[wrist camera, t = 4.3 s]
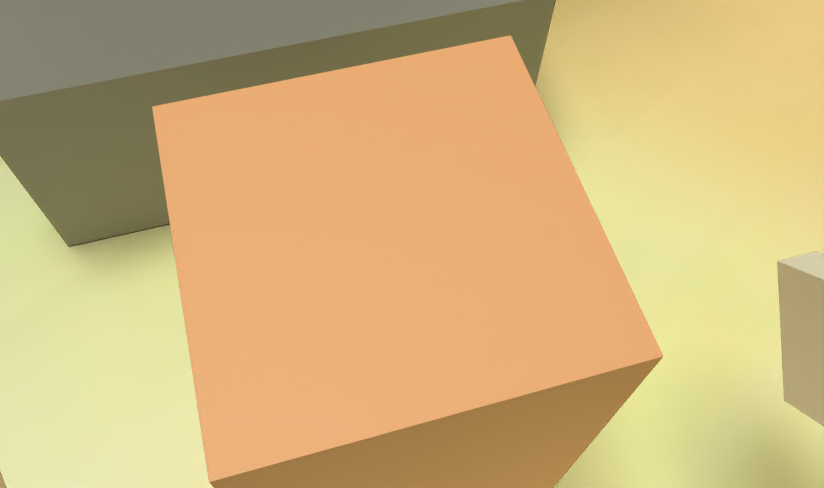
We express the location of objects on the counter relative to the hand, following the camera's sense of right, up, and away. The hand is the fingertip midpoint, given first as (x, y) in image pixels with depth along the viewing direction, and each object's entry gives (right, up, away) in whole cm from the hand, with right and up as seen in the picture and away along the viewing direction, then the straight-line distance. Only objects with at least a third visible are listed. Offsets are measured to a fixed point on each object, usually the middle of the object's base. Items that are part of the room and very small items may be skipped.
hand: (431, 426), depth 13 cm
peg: (-1, -3, +6) cm, 7 cm away
